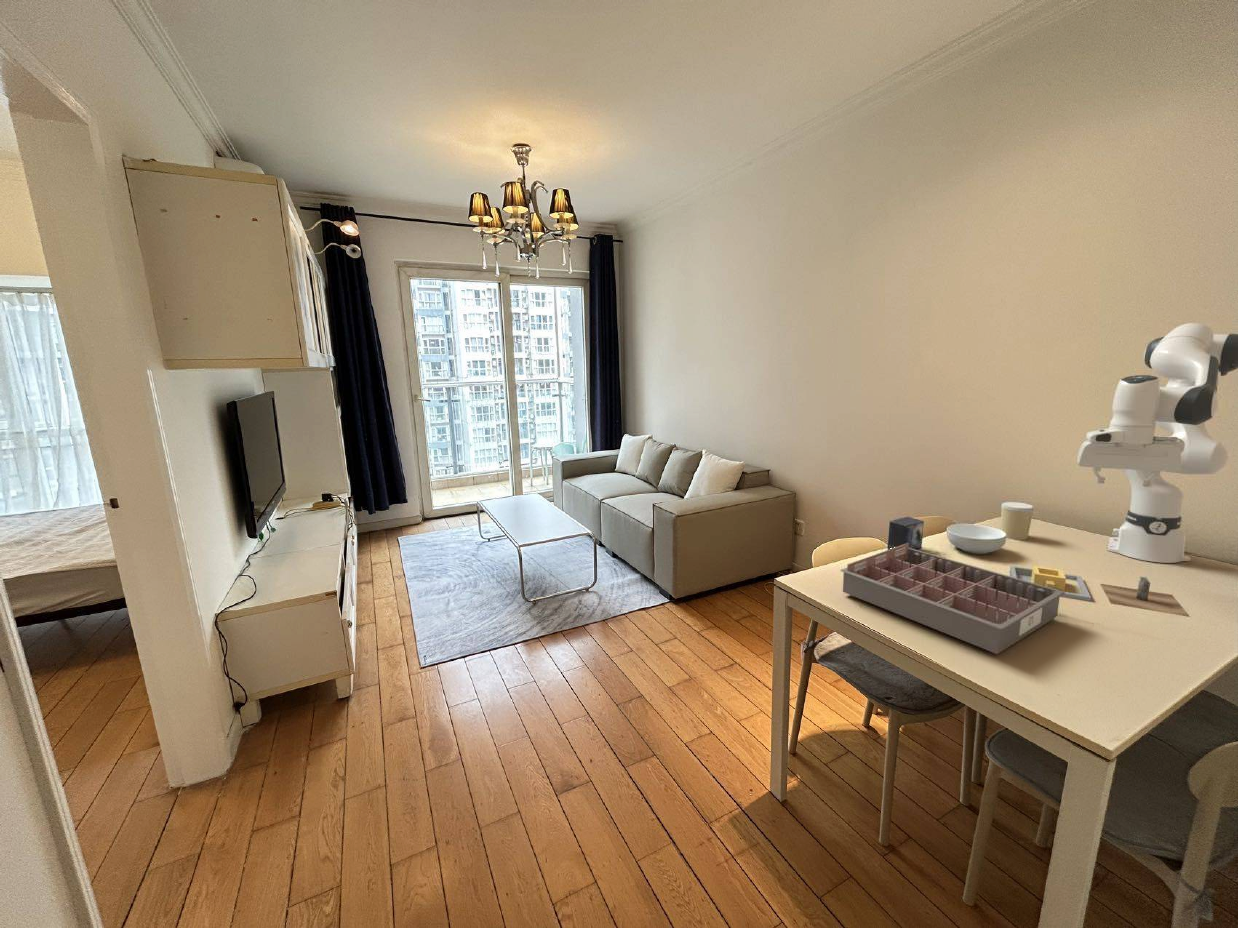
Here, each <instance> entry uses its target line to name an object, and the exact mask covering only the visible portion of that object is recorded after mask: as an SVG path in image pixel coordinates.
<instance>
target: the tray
mask: <svg viewBox="0 0 1238 928" xmlns="http://www.w3.org/2000/svg"><path fill="white" fill-rule="evenodd" d="M1064 575H1065V577H1066V580H1067V579H1068V580H1073V581H1076V583H1077V585H1078V587H1079V589H1080V591H1081V594H1078V593H1074V592H1067V591H1064V592H1065V594H1063V595H1062V596H1061V597H1063V598H1068V599H1074V600H1075V599H1076V600H1080V601H1085V602H1091V601H1092V597H1091V595H1090V592H1089V590H1088V588H1087V586H1086V583H1085V582H1084V580H1083V577H1082V576H1081V575H1075V574H1068V573H1064ZM1009 576H1010V577H1014V578H1017V579H1021V580H1024V581H1028V582H1031V576H1032V568H1030V567H1023V566H1017V565H1010V567H1009Z"/></svg>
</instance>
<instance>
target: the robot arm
mask: <svg viewBox="0 0 1238 928" xmlns="http://www.w3.org/2000/svg"><path fill="white" fill-rule="evenodd" d="M1143 360H1144V365H1145V366H1147V367H1148V369H1152V370H1153V371H1154V372H1155V373H1156V374H1157V375H1159V376H1161V377H1164V378H1167V379H1169V381H1168V382H1167V384H1166V385H1165V386H1161V383H1160V382H1161V381H1160V378H1159V377H1158V376H1155V375H1149V374H1139V375H1137V374H1136V375H1130V376H1129V375H1128V376H1126V377H1123V378H1121V379H1120V380H1119V382H1118V384H1117V386H1116V389H1115V393H1114V397H1113V401H1112V408H1111V410H1112V418H1111V420H1110V422H1109V427H1108V428H1102V429H1097V430H1092V431H1088V432H1086V434H1085V437H1086V438H1085V439H1086V440H1085V441H1084V442H1083V443H1082V444H1081V445H1080V448H1079V450H1078V453H1077V457H1076V458H1077V459H1076V463H1077V464H1078V466H1080V467H1082V468H1092V471H1093V473H1094V475H1095V477H1096V480H1095V482H1096V483H1097V484H1101V485H1102V484H1105V480H1106V477H1105V476H1101V475H1100V473H1099V472H1101V470H1102V469H1112V470H1113V469H1115V470H1117V469H1118V470H1121V471H1122V472H1123V473H1124V474H1125V475H1126V477H1127V478H1128V480H1129V481H1128V482H1129V485H1130V487H1131V489H1130V490H1131V491H1130V492H1131V493H1130V494H1131V495H1130V507H1129V509H1128V510H1127V512H1126V515H1125V516H1126V517H1125V522H1123V523H1122V525H1120V527H1119V528H1116V527H1115V528H1113V529H1112V535H1113V536H1110V537H1109V540H1108V544H1107V548H1106V550H1107V551H1109V552H1112V553H1116V554H1120V555H1123V556H1125V557H1129V558H1133V559H1136V560H1141V561H1146V562H1152V563H1165V564H1174V563H1175V564H1176V563H1180V562H1190V561H1191V557H1190V556H1189V555H1186V554H1185V546H1186V534H1185V533H1184V532H1182V531H1181V530H1180V528H1181V526H1182V518H1183V517H1182V516H1181V512H1182V505H1183V499H1184V494H1183V492H1182V490H1181V489H1180V488H1179V487H1178V486H1176V485H1174V484H1173V483H1171V482H1169V481H1166V480H1165V479H1164V478H1162V475H1161V472H1165V473H1171V474H1172V473H1175V474H1183V475H1214V474H1216V473H1218V472H1219V471H1221V470H1222V469H1223V468H1224V467H1225V466H1226V465H1227V463H1228V460H1229V452H1228V450H1227V449H1226V447H1225V446H1224V445H1223V444H1222V443H1221V442H1218V441H1217V440H1216V439H1214V438H1212V436H1211V435H1210V434H1209V432H1208V431H1207V427H1206V422H1207V421H1209V420H1211V419H1213V417H1214V416H1215V414H1216V412H1217V410H1218V405H1219V403H1218V400H1219V399H1218V395H1217V390H1218V384H1219V383H1218V382H1219V373H1220V376H1221V377H1224V376H1226V375H1228V373H1230V372H1233V371H1236V370H1237V369H1238V334H1237V333H1229V334H1224V333H1222V334H1221V333H1214V331H1213V330H1212V329H1211V328H1210V327H1209V326H1208V325H1206V324H1204V323H1198V322H1189V323H1188V322H1187V323H1183V324H1181V325H1178V326H1177V327H1175V328H1173V329H1172V330H1171V331H1169V332H1168V333H1167V334H1166V335H1165V336H1161V337H1157V338H1155V339H1153V340H1151V341H1150V342H1149V343H1148V345H1147V346H1146V348H1145V350H1144V351H1143ZM1156 427H1160V428H1161V429H1163V430H1164V431H1167V432H1169V433H1171V434H1172V435H1170V436H1168V435H1167V436H1163V435H1161V436H1160V435H1155V433H1156V432H1155V431H1156Z"/></svg>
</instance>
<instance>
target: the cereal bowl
mask: <svg viewBox="0 0 1238 928" xmlns="http://www.w3.org/2000/svg"><path fill="white" fill-rule="evenodd" d="M946 536H947V537H946V538H947V540H948V542H949V543H950V544H951V545H952V546H954V547H956V548H958V549H961V550H962V551H963V552H966V553H969V554H974V555H986V554H989V553H992V552H997V551H999V550H1001V548H1003V547H1004V546H1005V544H1006V541H1007V538H1006V533H1005V532H1003V531H1001V529H998V528H996V527H992V526H989V525H981V524H975V523H974V524H972V523H956V524H955V523H954V524H951V525H948V527H946Z"/></svg>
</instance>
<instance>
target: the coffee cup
mask: <svg viewBox="0 0 1238 928" xmlns="http://www.w3.org/2000/svg"><path fill="white" fill-rule="evenodd" d="M1000 507H1001V513H1000V514H1001V515H1000V517H1001V518H1000V519H1001V520H1000V530H1001V531H1003V532H1005V533H1006V539H1009V540H1016V541H1017V540H1018V541H1019V540H1020V541H1022V540H1023V541H1025V540H1027V539H1028V537H1029V534H1030V533H1029V532H1030V528H1031V522H1032V518H1033V514H1034V510H1035V509H1034V505H1031V504H1028V503H1024V502H1016V501H1005V502H1002V504H1001V506H1000Z"/></svg>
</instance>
